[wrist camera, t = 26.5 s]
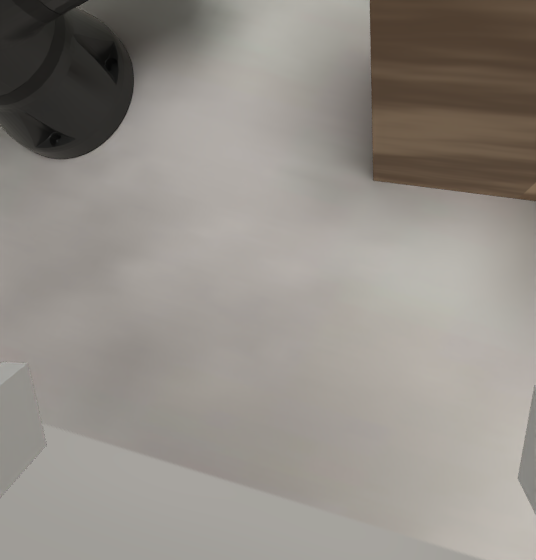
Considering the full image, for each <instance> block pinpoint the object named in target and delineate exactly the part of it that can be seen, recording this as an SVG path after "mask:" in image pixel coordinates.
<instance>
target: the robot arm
mask: <svg viewBox="0 0 536 560" xmlns="http://www.w3.org/2000/svg"><path fill="white" fill-rule="evenodd" d="M86 1H88V0H0V125H1V126H2V127H3V128H4V129H5V131H6V132H7V133H8V134H9V135H10V136H11V137H12V138H13V139H14V140H16V141H17V142H18V143H20V144H21V145H23V146H25V147H26V148H28V149H30V150H32V151H34V152H36V153H38V154H40V155H43V156H46V157H50V158H57V159H65V158H72V157H76V156H80V155H82V154H85V153H87V152H89V151H91V150H93V149H94V148H96V147H98V146H99V145H100V144H102V143H103V142H104V141H105V140H106V139H107V138H108V137H109V136H110V135H111V134H112V133H113V132H114V131H115V130H116V128H117V127H118V125H119V124H120V122H121V121H122V119H123V117H124V115H125V113H126V111H127V109H128V106H129V103H130V100H131V96H132V90H133V69H132V64H131V60H130V57H129V55H128V53H127V51H126V49H125V47H124V45H123V44H122V43H121V41H120V40H119V39H118V38H117V37H116V36H115V35H114V34H113V32H112V31H111V30H110V29H109V28H108V27H107V26H106V25H105V24H104V23H102V22H101V21H100V20H98V19H97V18H95V17H93V16H92V15H90V14H88V13H86V12H84V11H82V10H80V9H78V8H76V7H77V6H79V5H81V4H83V3H84V2H86ZM46 445H47V444H46V439H45V435H44V431H43V426H42V422H41V417H40V413H39V409H38V404H37V400H36V395H35V391H34V387H33V382H32V378H31V373H30V369H29V365H28V363H19V362H2V363H1V364H0V498H1V497H2V495H3V494H4V493H5V492H6V491H7V490H8V489H9V488H10V486H11V485H12V484H13V483H14V482H15V481H16V479H18V477H19V476H20V475H21V474H22V473H23V472H24V471H25V469H26V468H27V467H28V466H29V465H30V464H31V462H32V461H33V460H34V459H35V458H36V457H37V456H38V455H39V453H40V452H41V451H42V450H43V449H44V448H45V446H46ZM518 480H519V482H520V484H521V486H522V488H523V490H524V492H525V494H526V496H527V498H528V500H529V502H530V504H531V506H532V508H533V510H534V512H535V514H536V385H534V391H533V396H532V402H531V407H530V413H529V418H528V424H527V429H526V435H525V441H524V446H523V452H522V457H521V463H520V468H519V474H518Z"/></svg>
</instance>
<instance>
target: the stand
mask: <svg viewBox="0 0 536 560" xmlns="http://www.w3.org/2000/svg"><path fill="white" fill-rule="evenodd" d="M370 35H371V86H372V138H373V180H374V181H382V182H390V183H398V184H406V185H414V186H422V187H430V188H438V189H446V190H453V191H461V192H469V193H477V194H485V195H493V196H501V197H509V198H517V199H524V200H532V201H536V0H370Z"/></svg>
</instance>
